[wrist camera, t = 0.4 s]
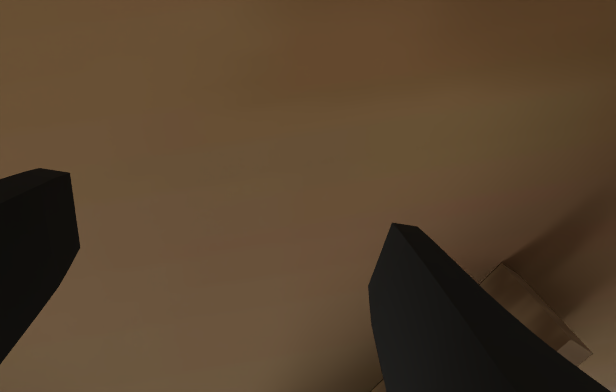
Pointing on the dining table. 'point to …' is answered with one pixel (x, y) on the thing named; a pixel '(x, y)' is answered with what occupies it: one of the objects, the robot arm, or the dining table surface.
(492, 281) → the plank with two pegs
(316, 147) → the dining table surface
